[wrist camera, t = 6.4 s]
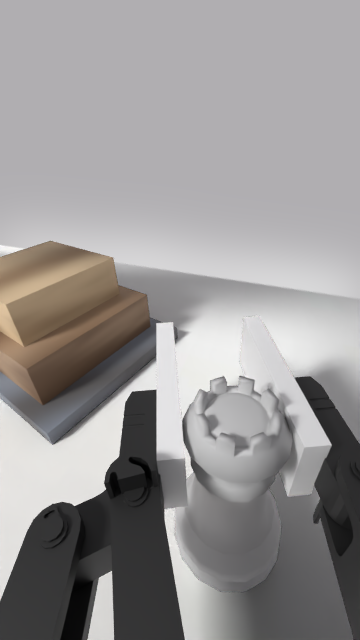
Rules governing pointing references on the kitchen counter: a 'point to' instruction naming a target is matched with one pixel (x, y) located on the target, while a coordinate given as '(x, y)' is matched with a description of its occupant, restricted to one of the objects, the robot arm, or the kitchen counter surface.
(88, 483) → the kitchen counter surface
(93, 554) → the robot arm
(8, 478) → the kitchen counter surface
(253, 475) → the rook chess piece
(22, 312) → the plinth
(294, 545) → the kitchen counter surface
